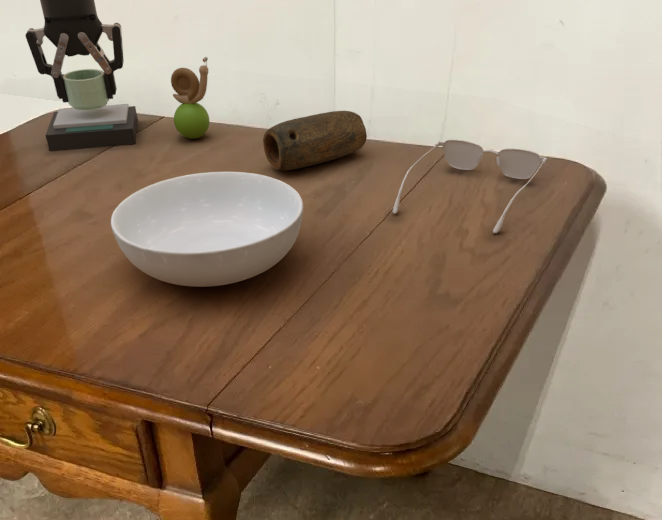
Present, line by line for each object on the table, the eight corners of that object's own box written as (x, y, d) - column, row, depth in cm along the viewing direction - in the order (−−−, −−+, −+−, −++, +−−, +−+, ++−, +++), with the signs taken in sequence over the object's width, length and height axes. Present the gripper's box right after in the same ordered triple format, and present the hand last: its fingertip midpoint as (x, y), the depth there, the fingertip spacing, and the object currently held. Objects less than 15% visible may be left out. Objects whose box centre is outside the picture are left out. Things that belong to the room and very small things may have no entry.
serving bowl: (192, 211, 99) (185, 159, 95) (337, 243, 91) (336, 188, 87) (82, 285, 85) (67, 227, 81) (242, 330, 77) (235, 269, 73)
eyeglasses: (544, 182, 104) (548, 153, 102) (503, 237, 92) (507, 205, 89) (437, 164, 110) (438, 136, 107) (385, 214, 97) (386, 183, 95)
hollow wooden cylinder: (290, 183, 106) (287, 134, 102) (260, 168, 110) (257, 121, 106) (371, 155, 113) (372, 108, 109) (341, 143, 117) (340, 97, 113)
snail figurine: (210, 145, 118) (200, 62, 110) (171, 142, 119) (158, 60, 112) (222, 133, 122) (213, 52, 115) (184, 130, 123) (173, 50, 116)
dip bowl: (67, 112, 118) (60, 82, 115) (71, 100, 123) (64, 70, 120) (108, 109, 119) (102, 78, 116) (111, 97, 123) (105, 67, 121)
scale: (49, 150, 118) (44, 131, 116) (57, 126, 126) (53, 108, 124) (135, 143, 119) (131, 124, 117) (137, 120, 128) (134, 102, 126)
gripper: (115, -29, 114) (136, 89, 124) (14, -24, 112) (44, 95, 122) (112, -19, 108) (134, 103, 118) (6, -14, 106) (38, 110, 117)
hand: (88, 99), depth 120 cm, fingers closed on dip bowl, 6 cm apart
